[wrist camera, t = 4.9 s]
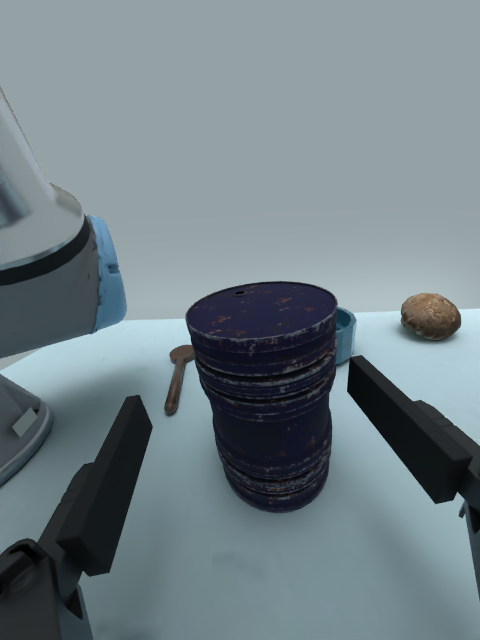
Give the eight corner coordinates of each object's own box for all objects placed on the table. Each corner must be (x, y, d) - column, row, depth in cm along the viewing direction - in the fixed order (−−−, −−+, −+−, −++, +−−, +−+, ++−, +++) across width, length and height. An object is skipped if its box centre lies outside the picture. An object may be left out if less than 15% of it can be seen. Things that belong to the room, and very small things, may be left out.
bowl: (280, 368, 32) (278, 334, 30) (284, 333, 41) (283, 305, 38) (359, 371, 29) (364, 334, 27) (346, 333, 38) (348, 303, 36)
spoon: (189, 413, 27) (186, 404, 26) (152, 419, 26) (148, 411, 26) (197, 347, 40) (195, 340, 40) (173, 351, 40) (171, 345, 40)
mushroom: (385, 302, 39) (413, 278, 34) (429, 315, 39) (464, 293, 34) (389, 341, 35) (422, 321, 30) (438, 356, 35) (480, 338, 30)
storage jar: (357, 471, 18) (381, 302, 12) (253, 547, 15) (213, 367, 9) (285, 397, 27) (277, 274, 21) (208, 435, 23) (171, 302, 17)
